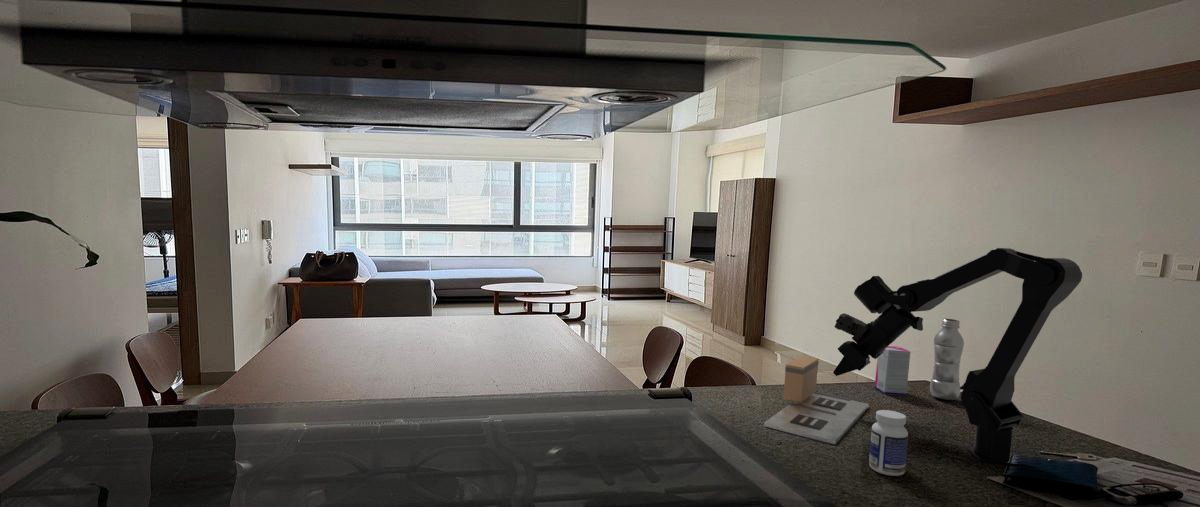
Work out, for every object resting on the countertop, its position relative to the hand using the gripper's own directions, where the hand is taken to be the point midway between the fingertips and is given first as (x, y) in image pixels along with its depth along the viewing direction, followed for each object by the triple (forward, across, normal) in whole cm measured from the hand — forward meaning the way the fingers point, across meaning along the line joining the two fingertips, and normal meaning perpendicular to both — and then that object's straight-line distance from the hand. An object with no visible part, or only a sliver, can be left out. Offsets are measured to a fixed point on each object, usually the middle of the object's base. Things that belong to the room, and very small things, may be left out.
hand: (834, 374), depth 134 cm
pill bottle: (-4, +29, +18) cm, 34 cm away
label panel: (+6, +8, +5) cm, 12 cm away
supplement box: (+1, -25, +11) cm, 27 cm away
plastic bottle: (-6, -29, +20) cm, 35 cm away
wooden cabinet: (+10, +1, -2) cm, 10 cm away
